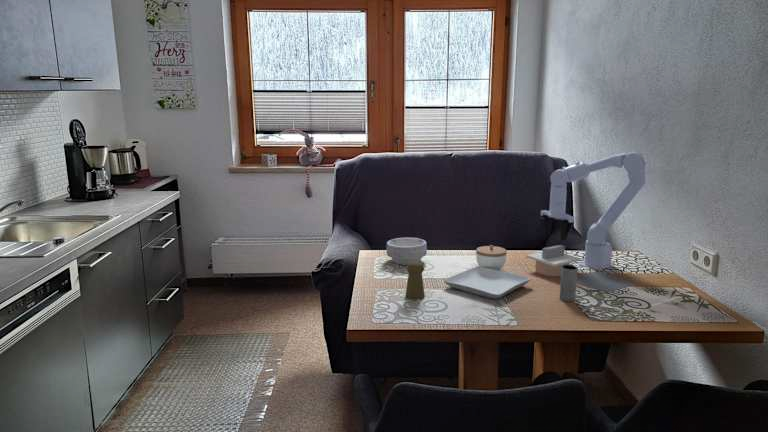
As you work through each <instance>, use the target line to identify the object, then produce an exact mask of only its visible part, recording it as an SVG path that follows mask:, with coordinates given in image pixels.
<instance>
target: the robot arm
mask: <svg viewBox="0 0 768 432" xmlns="http://www.w3.org/2000/svg"><path fill="white" fill-rule="evenodd" d="M611 167H614V168H619V169H621V168H622V167H624V169H625V171H626V172H627V176H628V180H629V181H628V182H627V183H626V185H625V186H624V187H623V189H621V191H620V192H619V194H618V195H617V197H616V198H615V199H614V201H612V203H611V204H610V205H609V207H608V208H607V210H606V211H605V212H604V214H602V215H601V217H600V218H599V219H598V221H596V222H594V223H592V224H591V225H590V226H589V229H588V231H587V232H586V239H585V250H584V261H583V262H581V263H578V265H579V266H582V267H586V268H587V269H588V268H589V269H592V270H595V271H599V270H602V269H606V268H611V267H614V265H613V264H612V262H613V261H612V259H613V258H612V257H613V246H612V244H611V243H610V242H608V241H607V240H606V236H607V234H608V232H609V231H610V229H611V228H612V226H613V225H614V223H615V222H616V221H617V219H618V218H619V217H620V216H621V214H622V213H623V212H624V211H625V210H626V208H628V206H629V204H630V203H631V202H632V200H633V199H634V198H635V197H636V196H637V195H638V193H639V192H640V191H641V189H642V188H643V187H644V185H645V183H646V161H645V159H644V156H643V154H642V153H641V152H640V151H637V150H630V151H629V152H621V153H620V152H619V153H617V154H612V155H610V156H608V157H607V156H606V157H604V158H601V159H598V160H596V161H593V162H590V163H586V162H583V161H581V162H580V161H576V162H575V164H572V165H569V166H567V167H566V166H563V167H562V168H560V169H556V170H555V171H553V172H552V173H551V175H550V179H549V180H550V182H551V183H550V184H551V185H550V190H549V191H550V192H549V193H550V194H549V195H550V196H549V210H546V209H544V210H543V209H542V210H540V216H541V217H540V218H539V219H540V222H541V224H542V227H543V230H544V235H545V236H546V237H547V236H551V234H552V227H553V222H554V220H559V222H558V224H559V229H560V241H565V240H567V238H568V235H569V232H570V230H571V228H572V227H573V225H574V224H575V216H572V215H570V214H568V213H566V210H567V209H566V207H567V192H568V190H567V185H568V184H567V183H574V182H576V181H580V180H582V179H586V178H588V177H589V175H590V174H591V173H593V172H597V171H600V170H604V169H607V168H611ZM560 220H561V221H560Z"/></svg>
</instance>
